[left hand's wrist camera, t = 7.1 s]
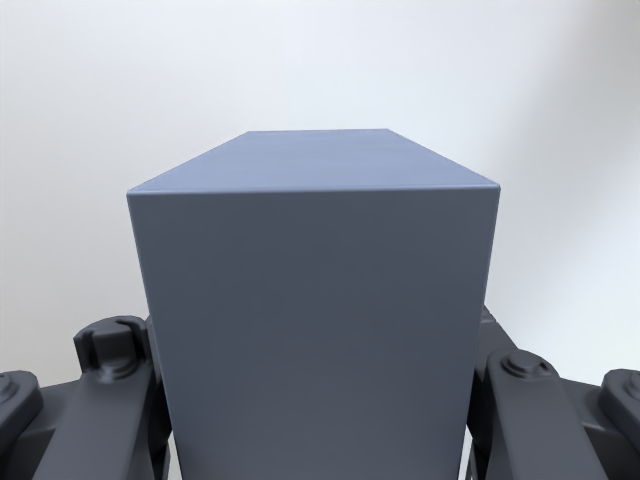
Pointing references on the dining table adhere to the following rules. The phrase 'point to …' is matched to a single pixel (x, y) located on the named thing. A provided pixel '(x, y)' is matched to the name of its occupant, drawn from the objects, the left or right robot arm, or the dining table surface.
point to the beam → (316, 304)
